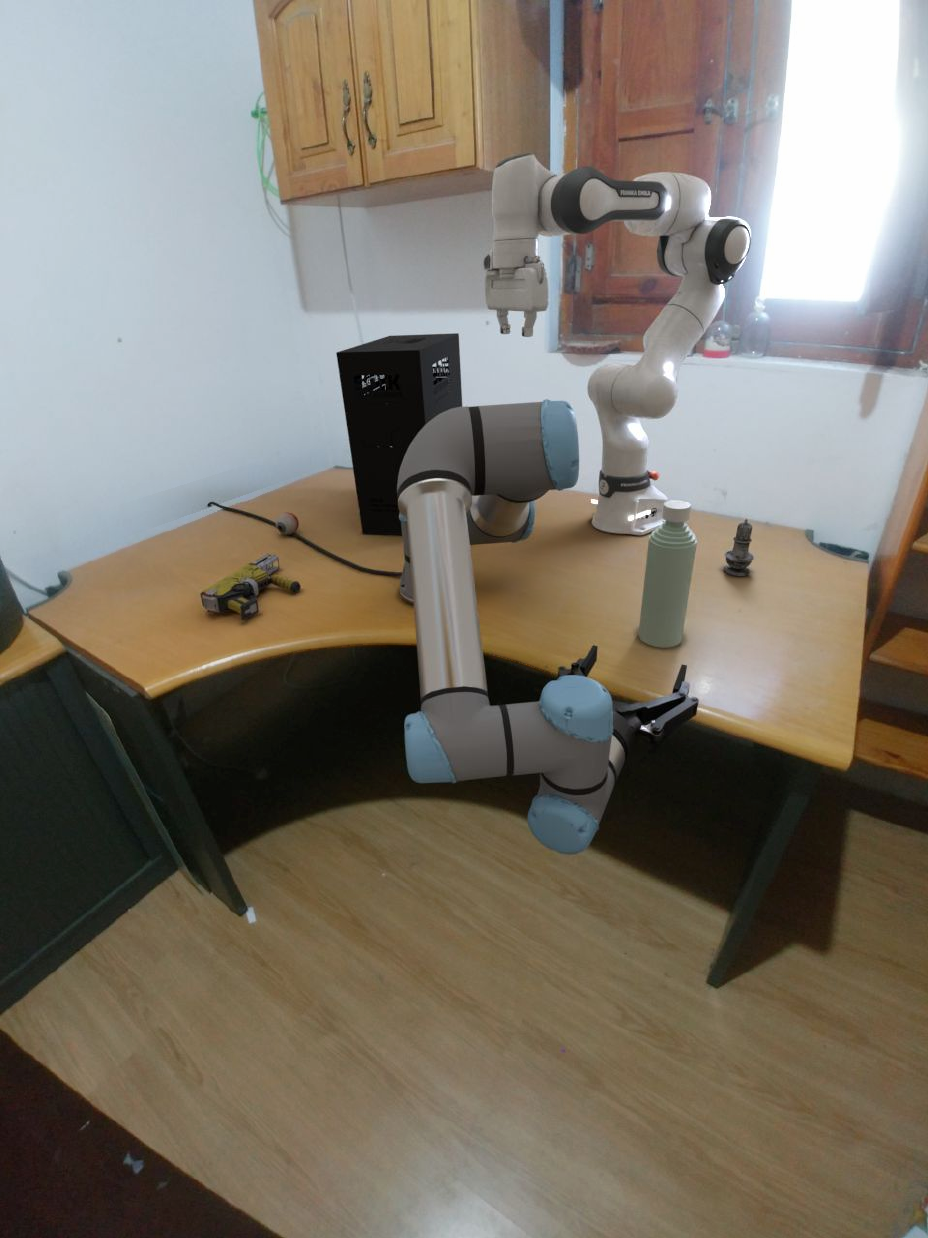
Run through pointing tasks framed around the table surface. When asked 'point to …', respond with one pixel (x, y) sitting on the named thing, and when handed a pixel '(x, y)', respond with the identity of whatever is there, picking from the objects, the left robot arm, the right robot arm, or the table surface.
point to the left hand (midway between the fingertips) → (637, 662)
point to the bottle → (667, 584)
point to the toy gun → (245, 588)
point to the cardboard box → (393, 412)
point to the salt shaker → (740, 551)
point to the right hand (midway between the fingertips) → (516, 335)
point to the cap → (676, 511)
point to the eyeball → (287, 523)
